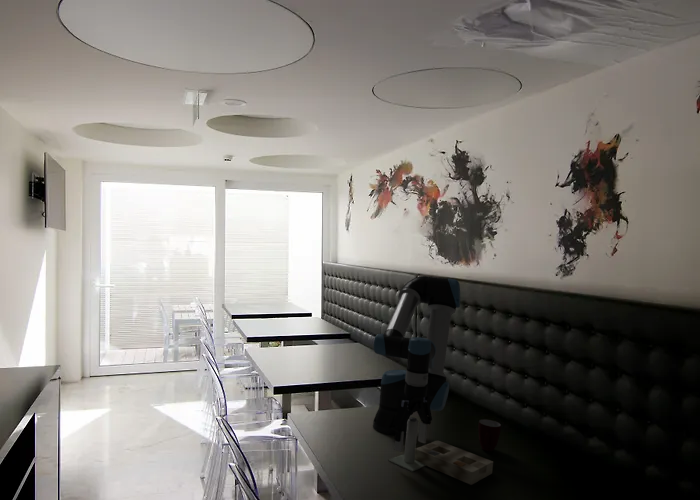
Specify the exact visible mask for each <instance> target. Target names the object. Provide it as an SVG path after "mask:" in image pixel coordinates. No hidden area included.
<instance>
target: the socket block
mask: <svg viewBox="0 0 700 500" xmlns="http://www.w3.org/2000/svg"><path fill="white" fill-rule="evenodd" d="M415 460H417V461H419V462H422V463H424V464H426V466H425V467H428V468H430V469H433V470H435V471H438V472H441V473H442V474H445V475H447V476H449V477H452V478H454V479H456V480H458V481H461V482H463V483H466V484H467V485H470V486H472V485H474V484H476V483H477V482H479V481H482V480H483V479H484V478H487V477H488V476H490V475H492V474H493V468H494V461H493V460H490V459H488V458H485V457H482V456H480V455H477V454H475V453H472V452H470V451H467V450H465V449H463V448H460V447H456V446H453V445H451V444H449V443H446V442H444V441H441V440H438V439H437V440H433V441H431V442H429V443H427V444H426V443H425V444H423V445H422V446H419V447H416V450H415Z"/></svg>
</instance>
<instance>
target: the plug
mask: <svg viewBox="0 0 700 500" xmlns="http://www.w3.org/2000/svg"><path fill="white" fill-rule="evenodd" d="M418 430H419V420H418V419H417V418H416V417H413V416H412V417H411V416H410V417H409V419H408V421H407V432H406V434H405V444H404V445H405V446H404V453H403V454H404V462H406V463H409V464H413V463H414V461H415V450H416V448H417V441H418V437H417V436H418Z"/></svg>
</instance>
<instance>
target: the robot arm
mask: <svg viewBox="0 0 700 500" xmlns="http://www.w3.org/2000/svg"><path fill="white" fill-rule="evenodd" d="M397 298H398V301H397V303H396V305H395V308H394V310H393V312H392V314H391V317H390V319H389V321H388V323H387V326H386V329H385V331H384V333H377V334H376V335H375V337H374V339H373V352H374V353H375V354H377V355H382V356H385V357H392V358H400V359H404V360H407V361H406V369H390V370H386V371H384V372H383V374H382V376H381V381H380V390H379V391H380V392H379V393H380V394H379V403H378V409H377V412H376V414H375V416H374V419H373V420H372V421H373V422H372V428H373V429H374V430H376V431H377V432H378V433H379V432H380V433H381V434H385V435H389V436H390V435H391V436H394V450H395V451H397V452H399V453H402V452H403V446H404V436H406V432H407V421H408V419H410V417H411V416H412V415H413V414H414V413H417V414H418V417H419V419H420V422H419V424H418V435H417V436H418V437H417V441H418V442H419V443H422V444H426V443H427V433H428V425H431V423H432V421H433V418H432V417H433V416H432V412H431V411H436V412H440V411H443V409H444V408H445V406H446V402H447V399H448V396H449V390H450V382H448V381H447V375H446V374H445V373H444V370H445V363H446V356H447V348H448V342H449V341H448V340H449V335H450V327H451V318H452V315H453V314H455V313H456V310H457V309H459V308H460V307H461V285H460V282H459V280H457V279H453V278H448V277H436V276H429V275H421V276H417V277H415V278H411V280H409V281H407V282H406V283H405V284H404V285H403V286H402V287H401V289H400V291H399V292H398V296H397ZM420 304H426V305H427V309H428V310H429V312H430V314H429V320H428V327H427V334H426V338H425V337H420V336H414V337H405V336H406V334H407V331H408V328H409V326H410V323H411V321H412V318H413V316H414V314H415V310H416V308H417V307H418V306H419V305H420Z"/></svg>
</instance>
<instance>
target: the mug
mask: <svg viewBox="0 0 700 500" xmlns="http://www.w3.org/2000/svg"><path fill="white" fill-rule="evenodd" d="M477 426H478V427H477V429H478V440H479V444H480V445H479V446H480V447H481V449H482V450H483V451H485V452H490V453H491V452H493V451H494V450H495V449H496V447H497V445H498V442H499V439H500V435H501V431H502V430H501V428H502V425H501V423H500V422H498V421H495V420H491V419H486V418H485V419H484V418H483V419H479V421H478V425H477Z"/></svg>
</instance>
